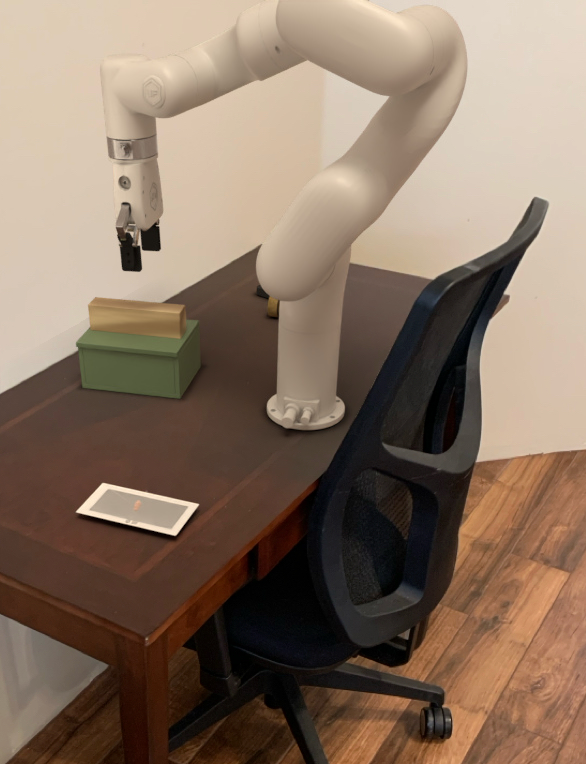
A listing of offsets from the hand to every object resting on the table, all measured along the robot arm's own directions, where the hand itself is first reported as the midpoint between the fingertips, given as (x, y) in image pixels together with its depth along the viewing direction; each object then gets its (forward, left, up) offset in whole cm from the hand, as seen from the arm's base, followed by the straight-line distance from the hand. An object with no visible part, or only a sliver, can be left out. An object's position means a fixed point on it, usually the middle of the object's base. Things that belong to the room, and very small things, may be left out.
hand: (142, 260), depth 145 cm
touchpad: (-40, -12, -21) cm, 47 cm away
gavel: (+39, -21, -21) cm, 49 cm away
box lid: (-1, +1, -13) cm, 13 cm away
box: (0, +1, -21) cm, 21 cm away
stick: (0, +1, -12) cm, 12 cm away
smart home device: (+48, -17, -20) cm, 55 cm away
